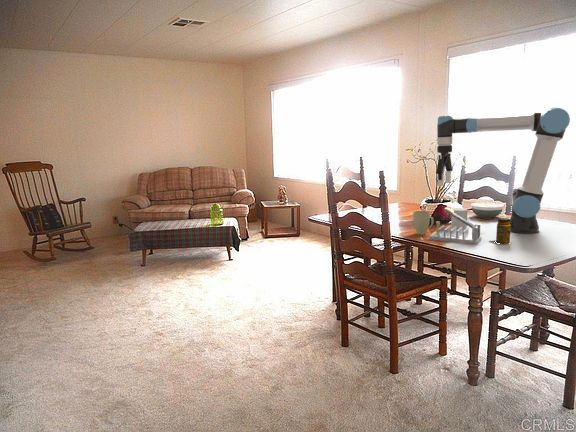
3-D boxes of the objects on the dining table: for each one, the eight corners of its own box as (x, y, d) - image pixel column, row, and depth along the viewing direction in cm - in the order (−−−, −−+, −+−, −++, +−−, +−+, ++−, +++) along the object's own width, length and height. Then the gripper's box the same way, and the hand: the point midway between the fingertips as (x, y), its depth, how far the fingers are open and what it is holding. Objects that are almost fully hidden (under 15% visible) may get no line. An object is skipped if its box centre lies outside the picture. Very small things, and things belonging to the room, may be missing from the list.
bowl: (474, 213, 274) (474, 201, 272) (505, 215, 263) (506, 203, 261) (467, 218, 259) (467, 206, 257) (500, 221, 248) (501, 208, 246)
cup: (468, 231, 227) (468, 210, 224) (452, 231, 228) (453, 210, 226) (464, 228, 234) (465, 207, 232) (449, 228, 236) (450, 208, 234)
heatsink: (481, 239, 211) (482, 223, 210) (476, 244, 202) (477, 228, 200) (435, 234, 224) (436, 220, 223) (429, 239, 215) (429, 224, 213)
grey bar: (478, 231, 208) (480, 227, 207) (476, 232, 204) (479, 229, 203) (444, 210, 215) (447, 206, 214) (442, 211, 212) (444, 207, 211)
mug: (411, 235, 225) (412, 213, 222) (413, 231, 234) (413, 210, 231) (433, 236, 221) (433, 214, 218) (434, 232, 230) (434, 211, 227)
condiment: (513, 243, 201) (515, 219, 198) (498, 245, 199) (500, 221, 197) (503, 240, 208) (504, 216, 205) (488, 241, 206) (489, 218, 204)
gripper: (444, 144, 234) (444, 181, 237) (430, 146, 214) (430, 187, 218) (458, 143, 229) (457, 181, 233) (444, 146, 210) (444, 187, 214)
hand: (444, 184), depth 225 cm, fingers open, 13 cm apart
